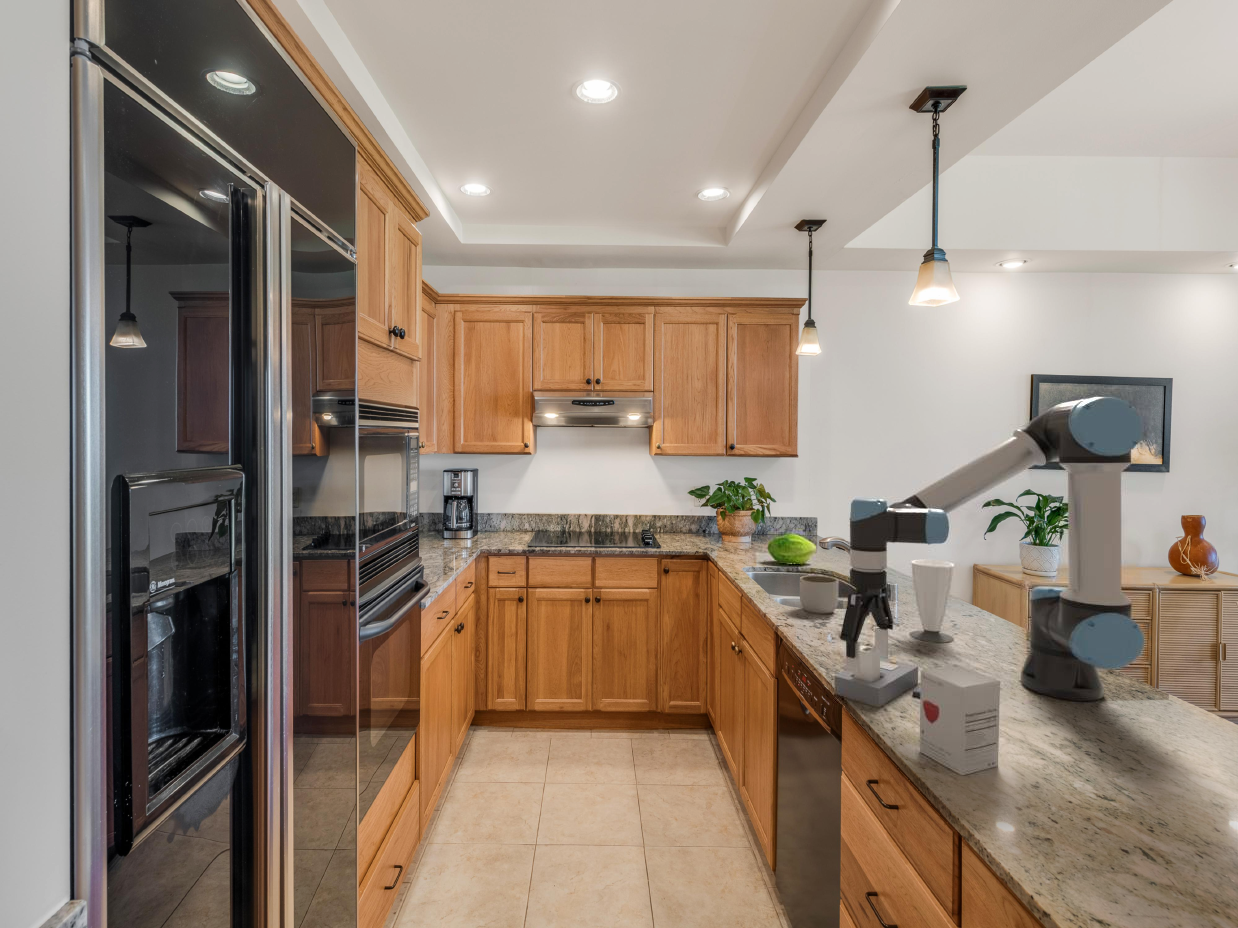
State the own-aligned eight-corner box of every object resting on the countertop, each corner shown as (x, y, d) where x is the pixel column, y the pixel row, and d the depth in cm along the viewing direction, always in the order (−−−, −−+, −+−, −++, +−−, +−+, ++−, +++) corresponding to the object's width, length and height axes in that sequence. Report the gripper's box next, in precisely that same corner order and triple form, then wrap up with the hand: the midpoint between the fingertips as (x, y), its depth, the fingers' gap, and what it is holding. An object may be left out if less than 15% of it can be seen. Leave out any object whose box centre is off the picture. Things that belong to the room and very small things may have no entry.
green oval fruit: (812, 559, 301) (818, 569, 285) (765, 558, 303) (769, 568, 288) (813, 530, 298) (819, 539, 283) (765, 529, 301) (769, 538, 285)
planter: (812, 604, 215) (813, 573, 215) (845, 611, 205) (845, 579, 205) (792, 610, 207) (792, 578, 207) (824, 618, 197) (825, 584, 197)
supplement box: (917, 751, 109) (918, 668, 109) (954, 743, 112) (955, 662, 112) (961, 776, 101) (962, 686, 100) (1000, 767, 104) (1001, 679, 104)
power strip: (917, 683, 141) (918, 665, 141) (878, 707, 128) (879, 687, 128) (875, 671, 149) (875, 654, 149) (834, 693, 135) (834, 674, 135)
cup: (960, 643, 171) (961, 567, 170) (916, 641, 173) (917, 565, 172) (945, 631, 182) (946, 559, 182) (904, 630, 184) (905, 558, 183)
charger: (879, 689, 135) (880, 648, 135) (871, 694, 132) (871, 652, 132) (862, 684, 138) (862, 644, 138) (853, 689, 135) (854, 648, 135)
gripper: (876, 559, 146) (876, 647, 146) (823, 573, 129) (822, 673, 129) (909, 563, 140) (908, 655, 141) (857, 579, 123) (857, 683, 124)
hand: (867, 664), depth 135 cm, fingers open, 13 cm apart
